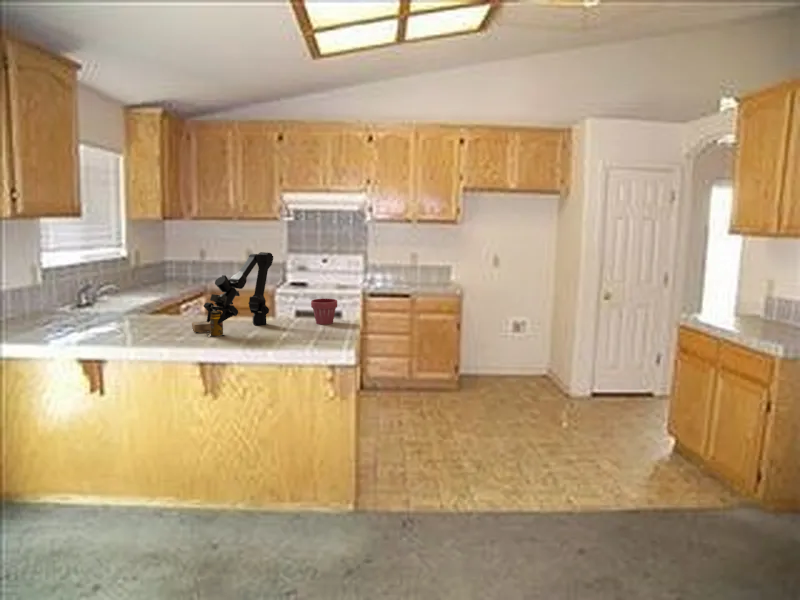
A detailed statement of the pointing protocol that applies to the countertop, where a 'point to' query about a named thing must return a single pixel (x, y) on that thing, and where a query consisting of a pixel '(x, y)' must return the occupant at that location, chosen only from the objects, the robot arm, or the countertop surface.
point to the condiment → (215, 324)
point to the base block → (201, 326)
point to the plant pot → (324, 310)
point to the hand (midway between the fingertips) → (212, 322)
